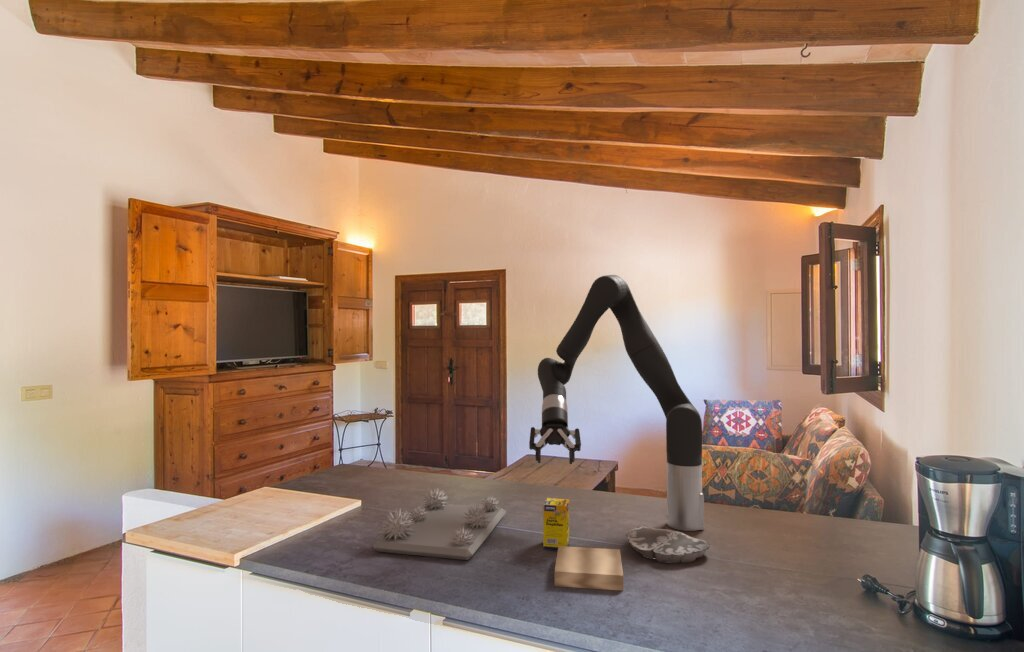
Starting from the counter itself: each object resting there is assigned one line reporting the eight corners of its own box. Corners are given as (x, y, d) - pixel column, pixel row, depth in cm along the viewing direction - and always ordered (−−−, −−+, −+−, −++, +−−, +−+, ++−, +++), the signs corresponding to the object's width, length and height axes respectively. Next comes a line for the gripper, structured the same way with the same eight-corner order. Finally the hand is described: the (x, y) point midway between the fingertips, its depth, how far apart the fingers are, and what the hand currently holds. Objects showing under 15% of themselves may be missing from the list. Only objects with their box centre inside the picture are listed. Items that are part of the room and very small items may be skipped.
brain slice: (611, 554, 129) (611, 542, 129) (640, 534, 142) (640, 523, 142) (693, 576, 117) (693, 562, 117) (716, 552, 130) (716, 539, 130)
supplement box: (567, 551, 130) (567, 505, 130) (542, 549, 131) (542, 504, 131) (569, 542, 136) (569, 499, 136) (546, 541, 137) (546, 497, 137)
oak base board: (619, 562, 123) (619, 549, 123) (623, 590, 109) (623, 575, 109) (558, 559, 125) (558, 546, 125) (554, 585, 111) (554, 571, 111)
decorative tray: (471, 565, 123) (471, 521, 123) (367, 555, 128) (368, 513, 129) (507, 517, 157) (507, 482, 157) (424, 510, 163) (424, 477, 163)
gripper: (530, 405, 155) (528, 453, 143) (579, 406, 154) (582, 455, 142) (530, 420, 160) (528, 468, 148) (578, 422, 159) (580, 470, 148)
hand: (555, 462), depth 145 cm, fingers open, 8 cm apart
